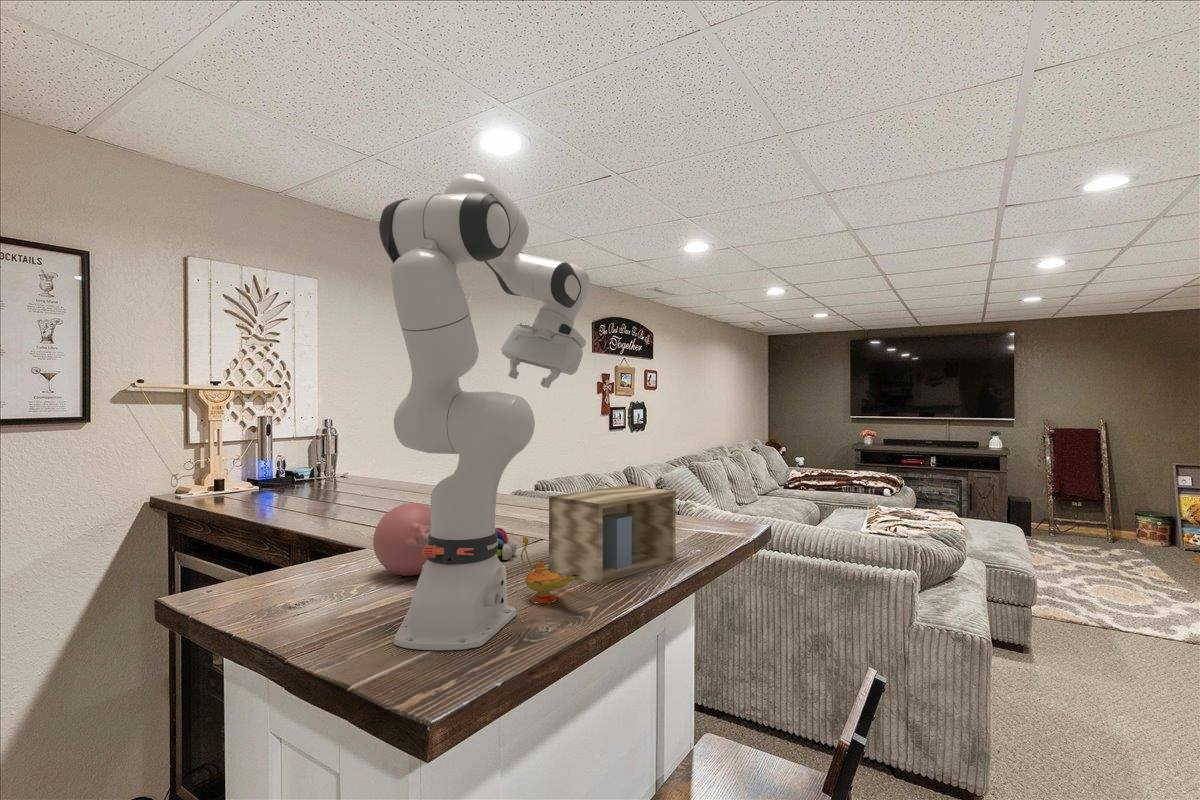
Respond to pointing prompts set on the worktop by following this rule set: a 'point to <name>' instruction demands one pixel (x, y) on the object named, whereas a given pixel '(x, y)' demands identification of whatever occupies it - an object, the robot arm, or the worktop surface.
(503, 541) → the multicolored small figure
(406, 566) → the pink ball
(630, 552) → the slate block
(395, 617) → the worktop surface
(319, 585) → the worktop surface
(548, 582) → the magic lamp
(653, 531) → the birch cubby
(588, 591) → the worktop surface
